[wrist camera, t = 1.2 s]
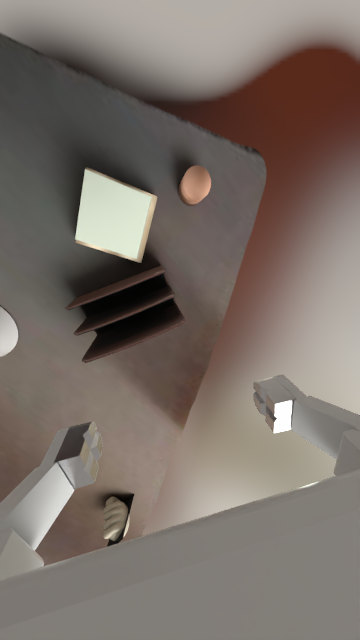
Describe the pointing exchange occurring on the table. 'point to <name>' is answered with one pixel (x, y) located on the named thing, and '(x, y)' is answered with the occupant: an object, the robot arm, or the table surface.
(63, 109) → the table surface
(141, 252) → the maple base block
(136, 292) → the letter holder
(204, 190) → the tan rounded cylinder
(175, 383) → the table surface
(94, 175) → the sage top block
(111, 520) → the decorative object
